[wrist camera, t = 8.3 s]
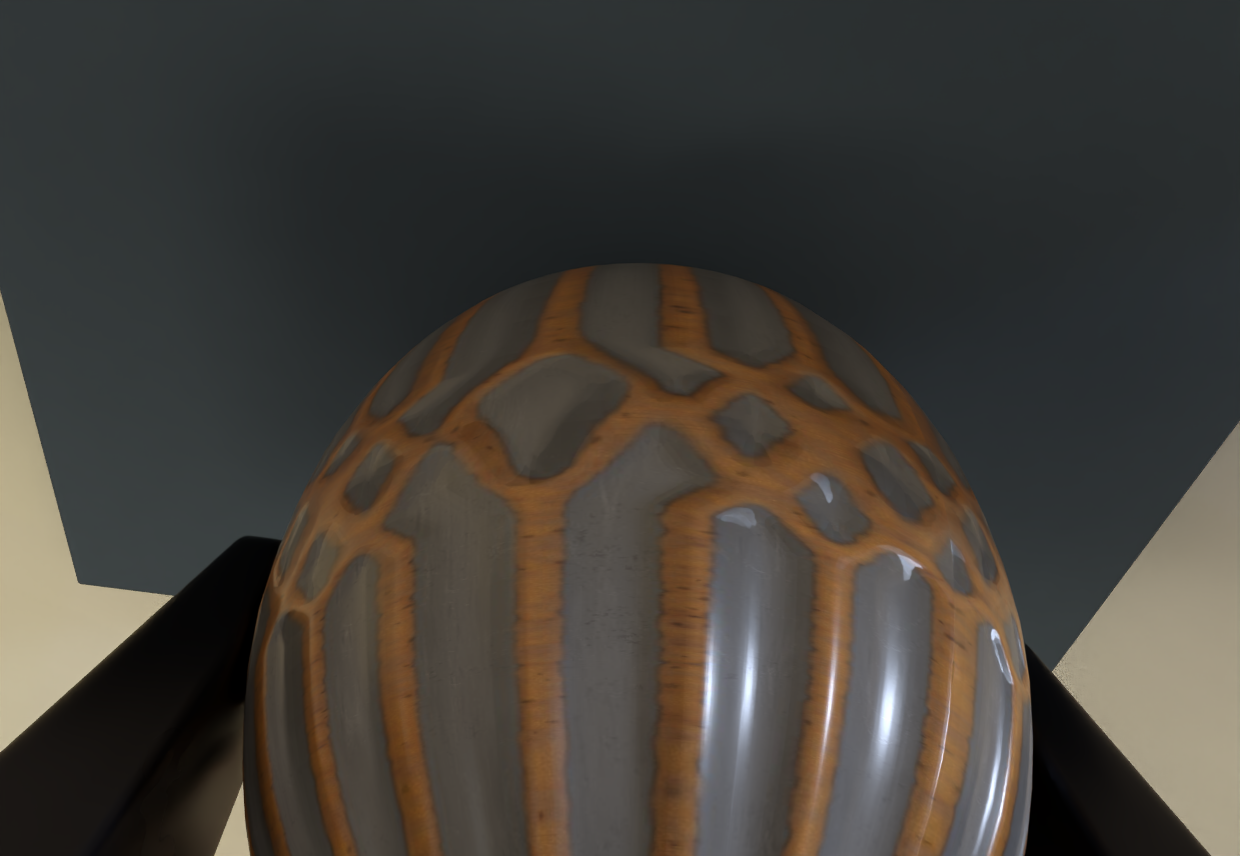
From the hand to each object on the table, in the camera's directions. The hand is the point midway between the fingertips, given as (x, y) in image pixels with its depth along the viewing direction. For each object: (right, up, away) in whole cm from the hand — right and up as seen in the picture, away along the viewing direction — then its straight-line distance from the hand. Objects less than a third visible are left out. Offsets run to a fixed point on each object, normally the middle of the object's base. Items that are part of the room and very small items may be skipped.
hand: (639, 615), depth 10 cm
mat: (0, +3, +3) cm, 4 cm away
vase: (0, +2, +2) cm, 3 cm away
